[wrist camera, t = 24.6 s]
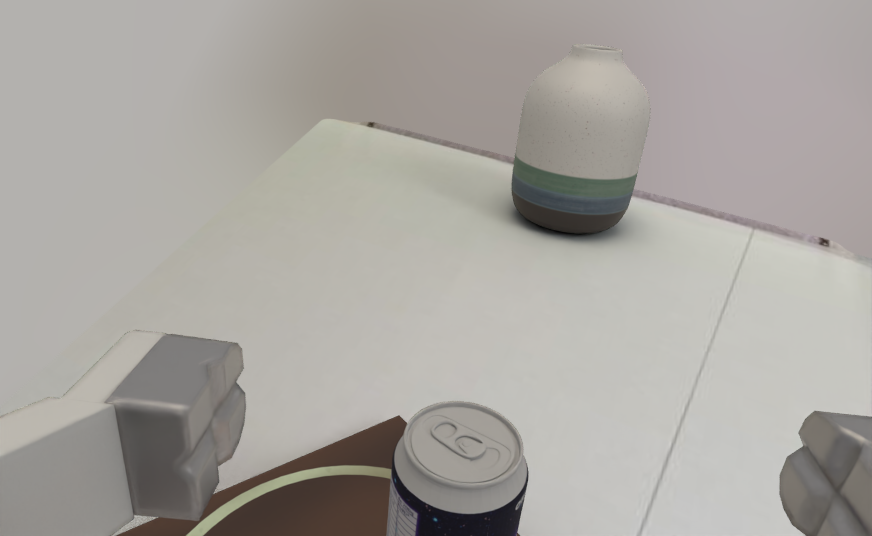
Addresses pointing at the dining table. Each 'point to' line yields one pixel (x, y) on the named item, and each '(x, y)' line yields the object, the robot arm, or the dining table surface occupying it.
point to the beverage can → (457, 474)
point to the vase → (580, 142)
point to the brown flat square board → (304, 494)
